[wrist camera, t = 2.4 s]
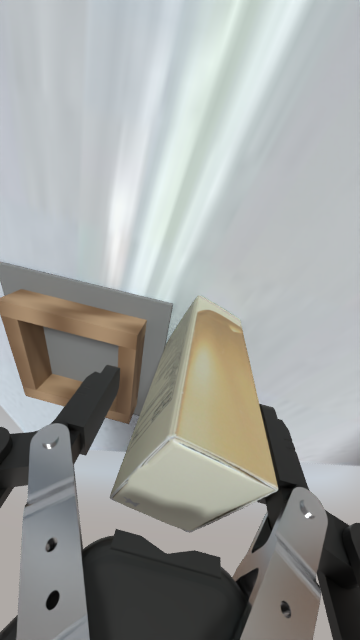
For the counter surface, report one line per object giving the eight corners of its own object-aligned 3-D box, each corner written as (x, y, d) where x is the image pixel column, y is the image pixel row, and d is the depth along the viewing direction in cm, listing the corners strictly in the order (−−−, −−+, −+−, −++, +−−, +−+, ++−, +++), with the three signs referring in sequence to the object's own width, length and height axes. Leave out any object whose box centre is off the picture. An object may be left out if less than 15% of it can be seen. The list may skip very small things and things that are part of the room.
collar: (146, 320, 18) (137, 335, 16) (136, 404, 24) (128, 424, 22) (21, 288, 19) (-5, 299, 17) (42, 379, 25) (25, 395, 23)
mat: (173, 303, 17) (172, 305, 17) (151, 416, 25) (150, 418, 25) (-1, 261, 18) (-5, 262, 18) (32, 383, 26) (30, 386, 26)
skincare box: (203, 364, 20) (187, 538, 10) (164, 343, 20) (103, 502, 9) (244, 316, 17) (288, 498, 6) (200, 290, 16) (168, 440, 6)
